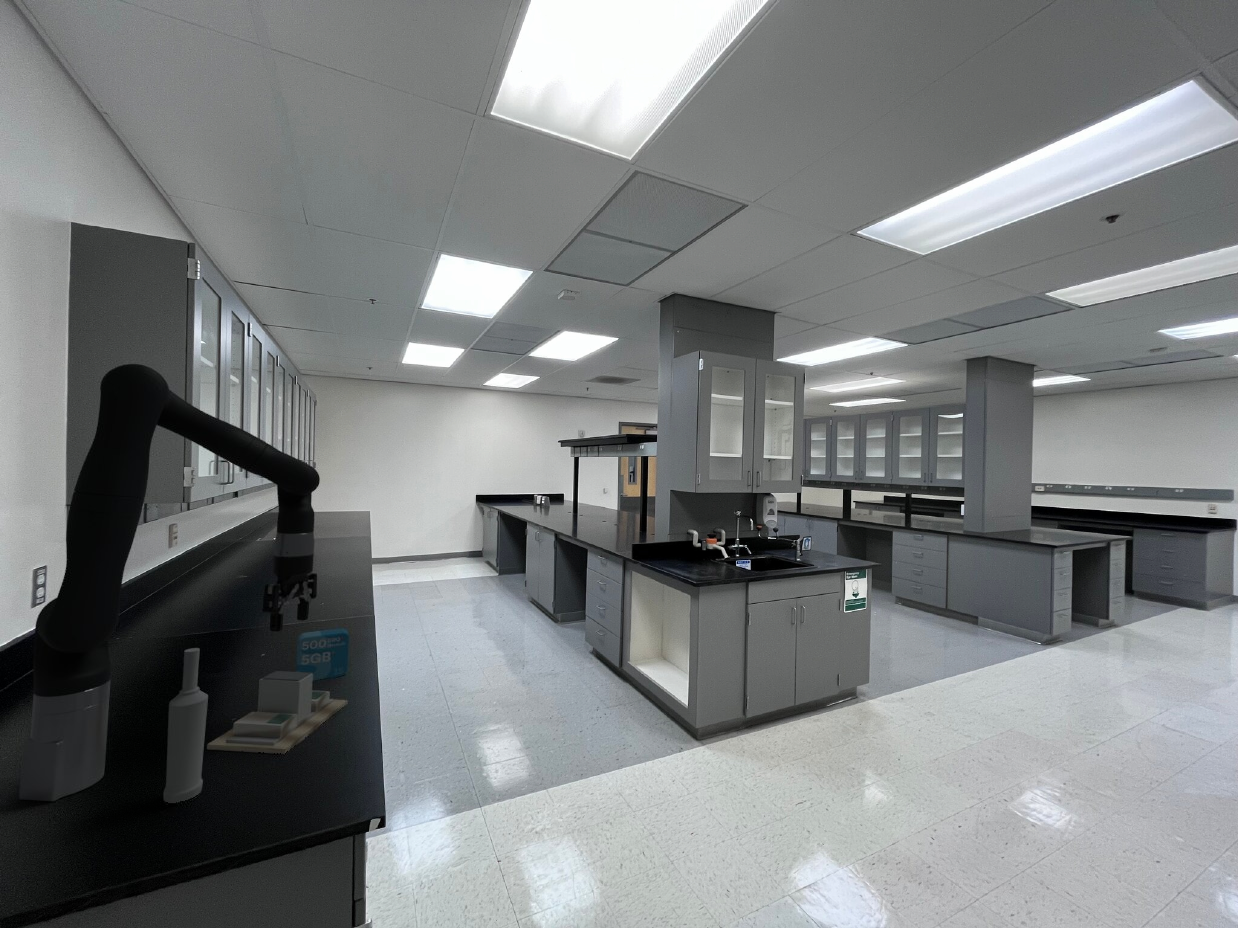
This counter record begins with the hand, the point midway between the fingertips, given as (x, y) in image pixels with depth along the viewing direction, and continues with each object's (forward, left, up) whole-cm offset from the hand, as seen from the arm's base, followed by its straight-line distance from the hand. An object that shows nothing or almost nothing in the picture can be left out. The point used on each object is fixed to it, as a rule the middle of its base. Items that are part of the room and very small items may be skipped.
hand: (289, 625), depth 112 cm
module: (0, 0, -20) cm, 20 cm away
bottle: (-25, 0, -22) cm, 33 cm away
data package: (+26, +8, -22) cm, 35 cm away
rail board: (0, 0, -22) cm, 22 cm away
